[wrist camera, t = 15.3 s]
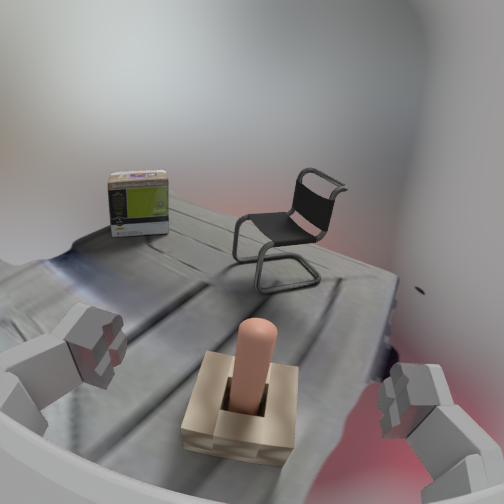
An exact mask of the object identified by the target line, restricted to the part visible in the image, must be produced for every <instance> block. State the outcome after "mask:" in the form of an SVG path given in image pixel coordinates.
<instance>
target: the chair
mask: <svg viewBox="0 0 504 504" xmlns="http://www.w3.org/2000/svg"><path fill="white" fill-rule="evenodd" d="M309 172H311V173H315V174H316V175H319V176H320V177H322V178H324V179H326V180H327V181H329V182H331V183H333V184H335V185H336V186H338V188H336V189H335V190H334V191H333V192H332V193H331V195H330V198H329V199H326V198H323V197H321V196H319V195H317V194H315V193H314V192H312V191H311V190H309V189H308V188H307V187H305V186H304V185H303V184H302V178H303V176H304V175H305V174H306V173H309ZM347 190H348V186H347V185H345V184H343V183H341V182H340V181H338V180H336V179H334V178H332V177H330V176H329V175H327V174H325V173H323V172H321V171H319V170H317V169H314V168H305V169H304V170H302V171H301V172H300V174H299V175H298V178H297V181H296V186H295V192H294V198H293V204H292V208H291V209H290V210H289V211H288V212H278V213H263V214H247V215H245V216H242V217H241V218H239V220H238V221H237V222H236V225H235V232H234V241H233V251H232V255H233V258H234V259H235V260H236V261H237V262H251V261H257V266H256V273H255V280H254V288H255V290H256V291H257V292H259V293H261V294H267V293H272V292H278V291H283V290H289V289H294V288H300V287H305V286H310V285H315V284H317V283H319V282H320V280H321V276H320V274H319V273H318V272H317V271H316V270H315V269H314V268H313V267H312V266H311V265H310V264H309V263H308V262H307V261H306V260H305V259H304V258H303V257H302V256H301V255H299V254H296V253H290V252H289V253H279V254H271V255H265V253H266V251H267V250H268V249H270V248H272V247H280V246H289V245H299V244H308V243H316V242H318V241H320V240H321V239H322V238H323V237H324V236H325V235H326V233H327V231H328V227H329V223H330V219H331V215H332V210H333V206H334V202H335V198H336V196H337V195H338V194H339V193H340V192H343V191H347ZM295 210H296V211H297V212H298V213H299V214H301V215H302V216H303V217H304V218H305V219H306V220H308V221H309V222H310V223H312V224H313V225H315V226H316V227H318V228H319V229H321V230H322V231H321V232H320V234H319V235H317V236H313V235H311V234H309V233H308V232H306V231H305V230H303V229H302V228H301V227H299V226H298V225H297V224H296V223H295V222H294V221H293V220H292V219H291V218H290V217H289V216H290V215H292V214H293V213H294V212H295ZM246 220H252V221H253V223H254V224H255V225H256V226H257V228H258V229H259V230H260V231H261V232H262V233H263V234H264V235H266V236H267V237H268V238H269V239H271V240H272V241H271V242H268V243H266V244H265V245H264V246H263V247H262V248H261V249H260V251H259V254H258V256H254V257H245V258H240V257H238V255H237V250H238V241H239V232H240V226H241V224H242V223H243V222H244V221H246ZM283 257H294V258H297V259H299V260H300V261H301V262H302V263H303V264H304V265H305V266H306V267H307V268H308V269H309V270H310V271H311V272H312V273H313V274H314V275H315V277H316V279H314V280H310V281H305V282H299V283H293V284H287V285H282V286H276V287H270V288H261V287H260V278H261V272H262V266H263V260H267V259H275V258H283Z"/></svg>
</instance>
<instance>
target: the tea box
mask: <svg viewBox="0 0 504 504" xmlns="http://www.w3.org/2000/svg"><path fill="white" fill-rule="evenodd" d="M108 199H109V212H110V224H111V232H112V237H120V236H135V235H149V234H166V233H169V212H168V178H167V174H166V170H165V169H158V170H157V169H156V170H136V171H122V172H112V173H111V175H110V177H109V180H108Z"/></svg>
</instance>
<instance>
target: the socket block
mask: <svg viewBox="0 0 504 504" xmlns="http://www.w3.org/2000/svg"><path fill="white" fill-rule="evenodd" d="M234 361H235V356H231V355H225V354H220V353H216V352H211V351H206V354H205V357H204V360H203V363H202V365H201V368H200V371H199V374H198V377H197V380H196V383H195V386H194V389H193V392H192V395H191V398H190V401H189V404H188V407H187V410H186V413H185V416H184V419H183V422H182V425H181V433H182V440H183V447H184V449H186V450H190V451H194V452H198V453H203V454H207V455H212V456H217V457H222V458H227V459H232V460H238V461H244V462H250V463H257V464H264V465H272V466H280V467H283V465H284V464H285V462H286V460H287V459H288V457H289V455H290V454H291V452H292V450H293V449H294V439H295V424H296V407H297V388H298V367H297V366H290V365H283V364H276V363H270V367H269V371H268V375H267V379H266V382H265V386H264V390H263V394H262V398H261V401H260V405H259V409H258V412H257V416H252V415H246V414H240V413H235V412H230V411H228V406H229V399H230V391H231V384H232V376H233V369H234Z"/></svg>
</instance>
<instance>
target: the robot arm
mask: <svg viewBox="0 0 504 504" xmlns="http://www.w3.org/2000/svg"><path fill="white" fill-rule="evenodd" d="M123 325H124V324H123V320H122V316H120V315H118V314H114V313H111V312H108V311H105V310H102V309H98V308H95V307H92V306H88V305H85V304H83V303H77V304H75V305H74V306H73V307H72V308H71V309H70V311H69V312H68V313H67V314H66V315H65V316H64V318H63V319H62V320H61V321H60V322H59V324H58V325H57V326H56V327H55V328H54V330H53V331H52V332H51V333H50V334H47V333H45V334H43V335H41V336H38V337H36V338H34V339H31V340H29V341H26V342H24V343H22V344H19V345H17V346H15V347H12V348H10V349H8V350H5V351H3V352H0V504H229V503H223V502H218V501H213V500H208V499H203V498H199V497H195V496H190V495H186V494H182V493H179V492H175V491H171V490H168V489H164V488H161V487H158V486H154V485H151V484H148V483H145V482H142V481H139V480H136V479H133V478H131V477H128V476H125V475H122V474H120V473H117V472H115V471H112V470H110V469H107V468H105V467H102V466H100V465H98V464H95V463H93V462H91V461H89V460H86V459H84V458H82V457H80V456H78V455H76V454H74V453H72V452H69V451H67V450H65V449H64V448H62V447H60V446H58V445H56V444H54V443H52V442H50V441H48V440H47V439H45V438H43V435H44V433H45V431H46V429H47V427H48V422H47V420H46V419H45V418H44V416H43V415H42V413H41V412H40V410H42V409H44V408H45V407H47V406H48V405H50V404H51V403H53V402H55V401H56V400H58V399H59V398H61V397H62V396H64V395H65V394H67V393H68V392H70V391H72V390H73V389H75V388H76V387H78V386H79V385H81V384H82V383H83V382H85V383H88V384H90V385H93V386H96V387H99V388H102V389H105V390H106V389H107V387H108V385H109V384H110V382H111V380H112V378H113V376H114V375H115V373H114V369H113V367H115V366H117V365H119V364H121V362H122V360H123V358H124V356H125V353H126V349H127V340H126V335H125V334H124V333H123V332H122V330H121V328H122V327H123ZM390 374H391V376H390V377H389V378H387V379H385V380H384V381H383V383H382V385H381V386H380V389H379V393H378V409H379V410H380V411H381V412H382V413H383V414H384V415H383V417H382V418H381V420H380V423H381V431H382V438H407V439H406V441H407V442H408V443H409V445H410V446H411V448H412V449H413V450H414V452H415V454H416V455H417V456H418V458H419V459H420V461H421V462H422V464H423V465H424V466H425V468H426V469H427V471H428V472H429V474H430V475H431V477H432V478H433V480H434V481H433V482H432V483H430V484H429V485H427V486H426V487H424V488H423V489H422V490H421V498H422V499H421V500H422V504H504V458H503V455H502V451H501V448H500V447H499V446H498V445H497V443H496V442H495V441H494V440H493V439H492V438H491V437H490V436H488V434H487V433H486V432H485V431H484V430H483V429H482V428H481V427H480V426H479V425H478V424H477V423H476V422H474V420H473V419H472V418H471V417H470V416H469V415H468V414H467V413H465V411H464V410H463V409H462V408H460V407H459V406H458V405H454V403H453V400H452V397H451V394H450V391H449V388H448V385H447V382H446V379H445V376H444V373H443V371H442V368H441V367H440V366H439V365H434V364H411V363H396V364H395V365H393V367H392V368H391V370H390Z"/></svg>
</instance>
